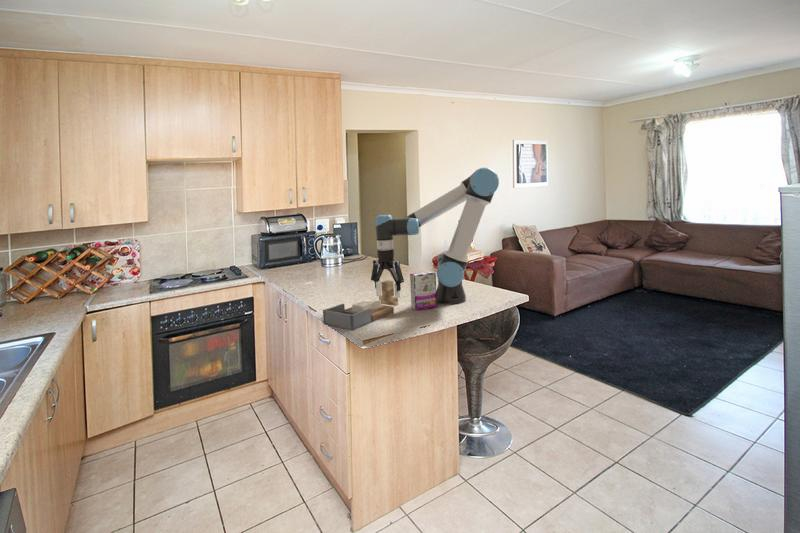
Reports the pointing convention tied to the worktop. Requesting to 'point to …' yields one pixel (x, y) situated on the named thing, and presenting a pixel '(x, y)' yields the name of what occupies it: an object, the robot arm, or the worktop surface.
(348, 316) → the tray
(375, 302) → the tile
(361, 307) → the tile
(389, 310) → the board
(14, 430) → the worktop surface
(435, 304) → the candy bar box
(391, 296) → the scraper
